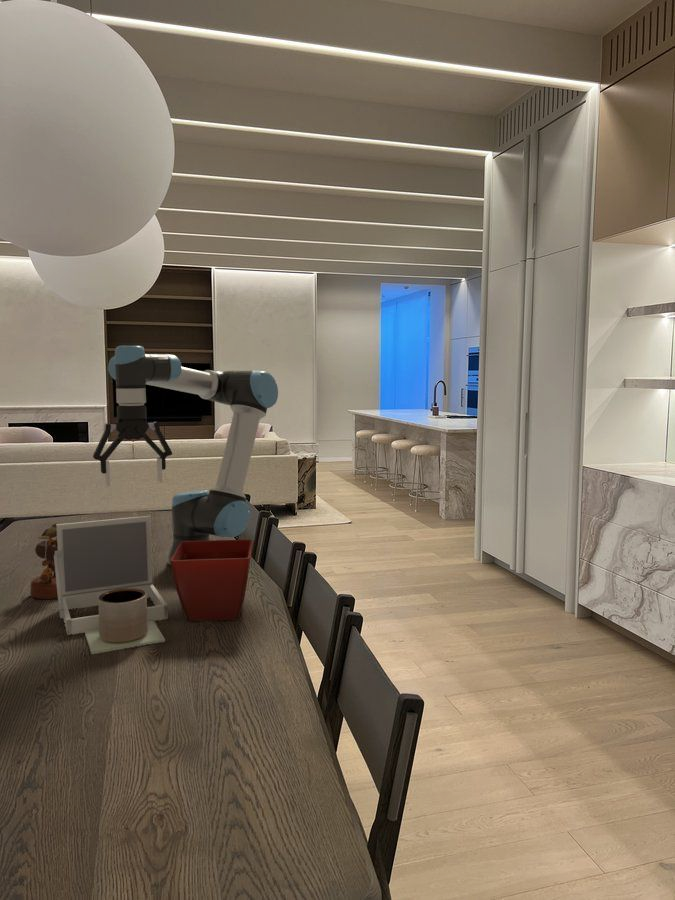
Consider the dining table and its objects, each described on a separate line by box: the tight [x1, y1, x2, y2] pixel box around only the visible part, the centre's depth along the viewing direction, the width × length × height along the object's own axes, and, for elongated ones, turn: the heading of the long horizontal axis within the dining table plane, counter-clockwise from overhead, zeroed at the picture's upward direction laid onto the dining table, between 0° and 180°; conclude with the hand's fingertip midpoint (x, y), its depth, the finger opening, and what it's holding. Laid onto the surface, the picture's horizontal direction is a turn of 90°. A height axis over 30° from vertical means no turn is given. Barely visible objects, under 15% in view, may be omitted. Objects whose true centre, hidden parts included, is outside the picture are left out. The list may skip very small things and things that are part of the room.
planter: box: [98, 588, 148, 643], centre depth 158 cm, size 11×11×10 cm
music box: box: [30, 522, 58, 600], centre depth 189 cm, size 15×11×20 cm
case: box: [54, 515, 169, 636], centre depth 172 cm, size 25×20×22 cm
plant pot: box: [170, 539, 253, 622], centre depth 174 cm, size 19×19×17 cm
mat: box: [84, 620, 166, 655], centre depth 158 cm, size 16×13×1 cm
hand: (134, 483), depth 182 cm, fingers open, 13 cm apart
